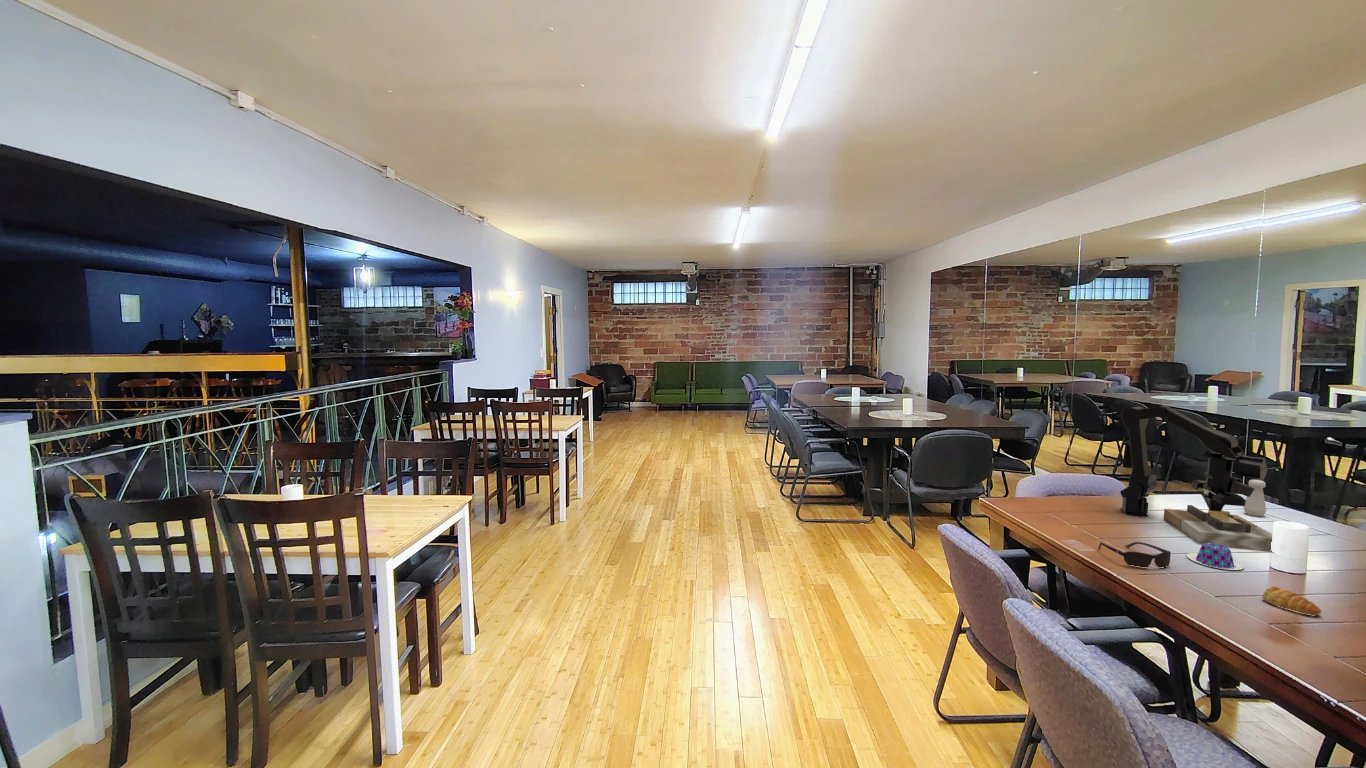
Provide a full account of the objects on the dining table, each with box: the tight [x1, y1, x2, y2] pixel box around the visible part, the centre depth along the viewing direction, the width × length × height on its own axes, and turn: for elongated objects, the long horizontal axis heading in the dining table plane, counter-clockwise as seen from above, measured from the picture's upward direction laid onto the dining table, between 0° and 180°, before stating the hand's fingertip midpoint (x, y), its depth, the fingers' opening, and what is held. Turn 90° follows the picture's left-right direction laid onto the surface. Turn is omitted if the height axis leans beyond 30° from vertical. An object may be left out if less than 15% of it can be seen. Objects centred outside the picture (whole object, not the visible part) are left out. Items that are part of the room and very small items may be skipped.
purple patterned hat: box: [1186, 543, 1245, 571], centre depth 157 cm, size 12×12×5 cm
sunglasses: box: [1098, 541, 1171, 568], centre depth 161 cm, size 14×16×5 cm
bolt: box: [1207, 509, 1241, 524], centre depth 176 cm, size 5×8×4 cm, turn 159°
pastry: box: [1261, 585, 1322, 617], centre depth 131 cm, size 9×7×4 cm
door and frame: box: [1163, 504, 1273, 552], centre depth 179 cm, size 20×24×6 cm
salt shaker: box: [1242, 479, 1267, 518], centre depth 197 cm, size 6×6×13 cm
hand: (1214, 517), depth 181 cm, fingers closed
